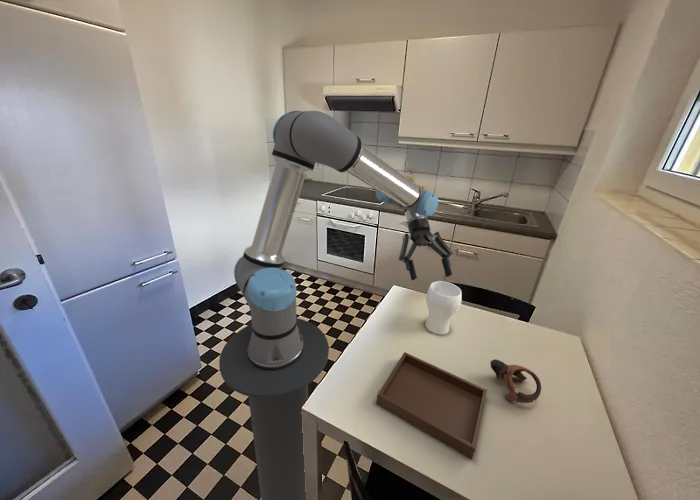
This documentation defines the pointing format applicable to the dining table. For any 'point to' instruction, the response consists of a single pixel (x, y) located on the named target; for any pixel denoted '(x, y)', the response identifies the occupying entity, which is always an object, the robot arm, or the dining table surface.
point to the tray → (435, 402)
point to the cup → (442, 306)
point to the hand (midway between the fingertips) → (432, 277)
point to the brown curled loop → (507, 372)
